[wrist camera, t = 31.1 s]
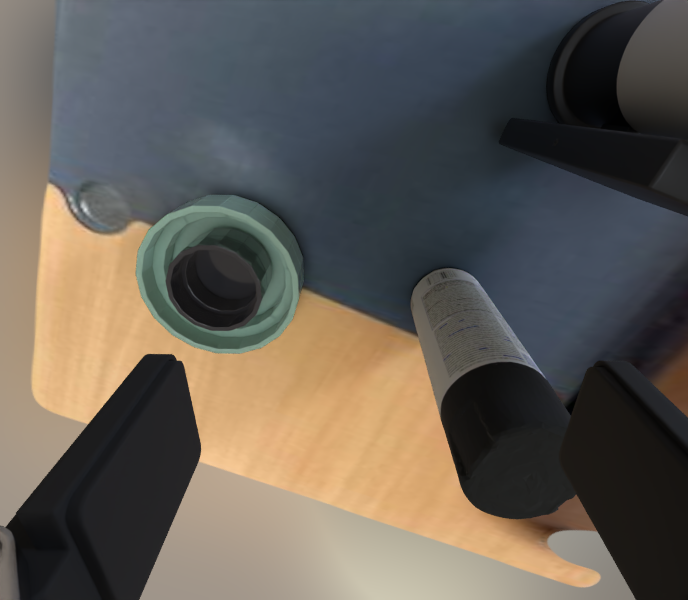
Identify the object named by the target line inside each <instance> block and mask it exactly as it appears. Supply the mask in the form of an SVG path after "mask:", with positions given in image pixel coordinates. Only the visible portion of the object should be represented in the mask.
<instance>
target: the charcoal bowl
mask: <svg viewBox="0 0 688 600" xmlns="http://www.w3.org/2000/svg"><path fill="white" fill-rule="evenodd" d="M271 279H272V268H271V261H270V259H269V257H268V255H267V253H266V251H265V249H264V248H263V246H262V245H261V244H259V243H258V242H257V241H256V240H255V239H254V238H253V237H252V236H250V235H249V234H247V233H244V232H241V231H239V230H236V229H234V228H214V229H212V230H209V231H207V232H205V233H202V234H201V235H199V236H198V237H197V238H196V239H195V240H193V241H192V242H191V243H190V244H189V245H188V246H187V247H186V248H184V249H183V250H182V251H181V252H180V253H179V254H178V255H177V256H176V258H175V259H174V260H173V261H172V262H171V263H170V264H169V268H168V272H167V276H166V280H165V282H166V287H167V292H168V296H169V299H170V301H171V302H172V304H173V305H174V307H175V308H176V310H177V311H178V313H179V314H180V315H182V316H183V317H184V318H186V319H187V320H188V321H190V322H191V323H192V324H194V325H196V326H199V327H202V328H204V329H207V330H210V331H231V330H234V329H237V328H239V327H242V326H245V325H246V324H247V323H248V322H249V321H250V320H251V319H252V318H253V317H254V316H255V315H256V314H257V312H258V310H259V308H260V306H261V303H262V301H263V299H264V297H265V295H266V292H267V290H268V287H269V285H270V282H271Z"/></svg>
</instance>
